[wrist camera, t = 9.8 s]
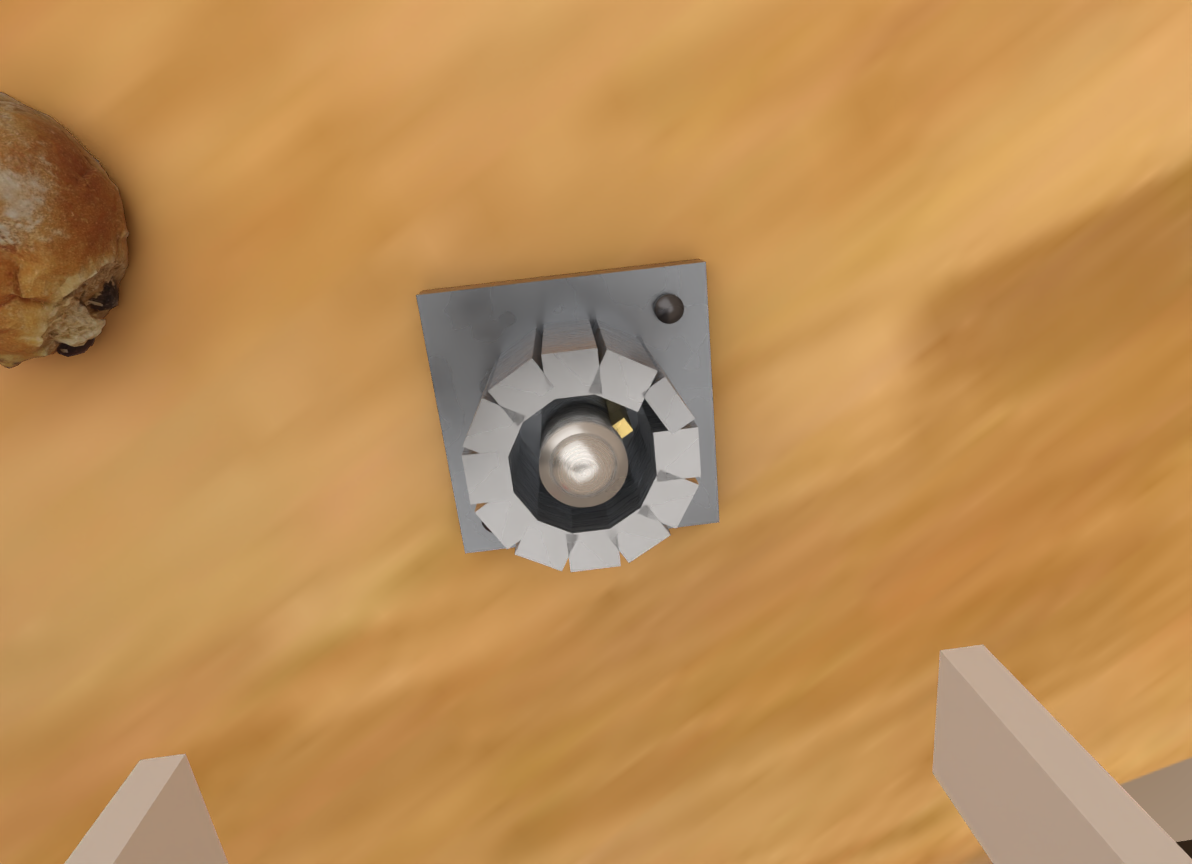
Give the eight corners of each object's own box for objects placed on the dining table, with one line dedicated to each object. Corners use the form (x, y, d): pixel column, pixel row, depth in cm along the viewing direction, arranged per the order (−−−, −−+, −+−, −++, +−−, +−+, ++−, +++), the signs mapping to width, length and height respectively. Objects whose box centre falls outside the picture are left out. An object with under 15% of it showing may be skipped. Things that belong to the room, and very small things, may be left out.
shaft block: (469, 538, 33) (443, 640, 26) (422, 290, 29) (375, 323, 22) (712, 508, 34) (759, 601, 26) (698, 258, 30) (749, 279, 22)
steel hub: (497, 513, 31) (484, 582, 26) (466, 333, 29) (445, 365, 23) (678, 491, 32) (705, 555, 26) (665, 310, 29) (692, 336, 23)
